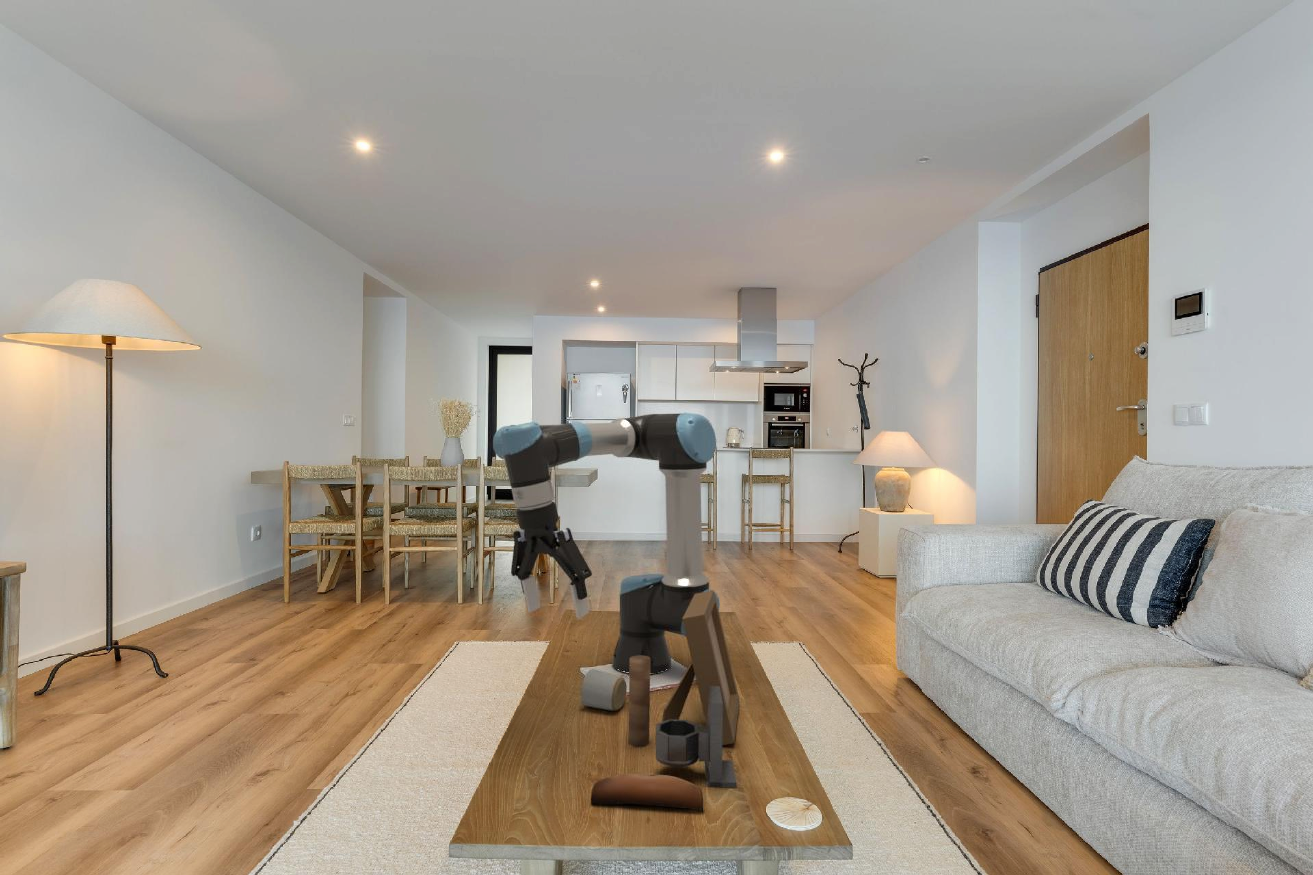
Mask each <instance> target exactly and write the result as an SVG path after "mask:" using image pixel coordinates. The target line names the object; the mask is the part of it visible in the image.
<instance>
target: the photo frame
mask: <svg viewBox="0 0 1313 875" xmlns="http://www.w3.org/2000/svg"><path fill="white" fill-rule="evenodd" d="M711 590H712V591H707V592H702V593H697V594H695V595H694V597H693V599H692V601H691V603H690V605H689V606H688V608H687V610H686V612H685V614H684V616H683V618H682V620H683V625H684V629H685V633H686V637H685V638H686V642H687V646H688V650H689V654H690V659H691V661H690V663H689V665H688V667H687V669H686V670H685V672H684V674H683V675H682V676H681V679H680V680H679V682H678V684H677V686H676V687H675V689H674V690H673V693H672V694H671V696H670V698H669V700H668V702H667V703H666V704H665V706H664V708H663V712H662V714H663V715H662V720H661V722H663V721H666V720H668V719H676V720H680V717H681V714H682V712H683V709H684V707H685V705H686V701H687V698H688V696H689V693H690V690H691V688H692V685H693V682H694V680H696V685H697V689H698V693H699V698H700V703H701V705H702V710H703V711H702V712H703V715H704V720H705V723H706V724H705V725H708V686H720V691H721V696H722V702H723V725H722V746H725V745H731V744H734V743H735V737H736V733H737V732H736V731H737V723H738V714H739V708H740V706H739V705H740V697H739V693H738V687H737V684H736V680H735V675H734V671H733V667H732V661H731V659H730V654H729V650H728V645H727V641H726V637H725V633H724V628H723V623H722V620H721V616H720V609H719V610H718V606H717V602H716V597H715V593H716V592H715V590H713V589H711ZM714 592H715V593H714Z"/></svg>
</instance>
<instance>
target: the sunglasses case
mask: <svg viewBox="0 0 1313 875" xmlns="http://www.w3.org/2000/svg"><path fill="white" fill-rule="evenodd" d="M703 793H704V792H703V787H701V786H699V785H697V784H694V783H693V782H691V781H687V780H685V779H682V778H680V777H677V776H673V775H672V776H671V775H664V774H654V773H634V772H633V773H629V772H627V773H621V774H617V775H611V776H608V777H604V778H602V779H598V780H596V782H595V783H594V784H593V786H592V789H591V794H590V804H592V805H593V804H595V805H601V804H602V805H610V804H612V805H618V804H622V805H626V804H634V805H641V806H661V807H667V808H679V809H680V808H682V809H694V810H701V812H704V794H703Z"/></svg>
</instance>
